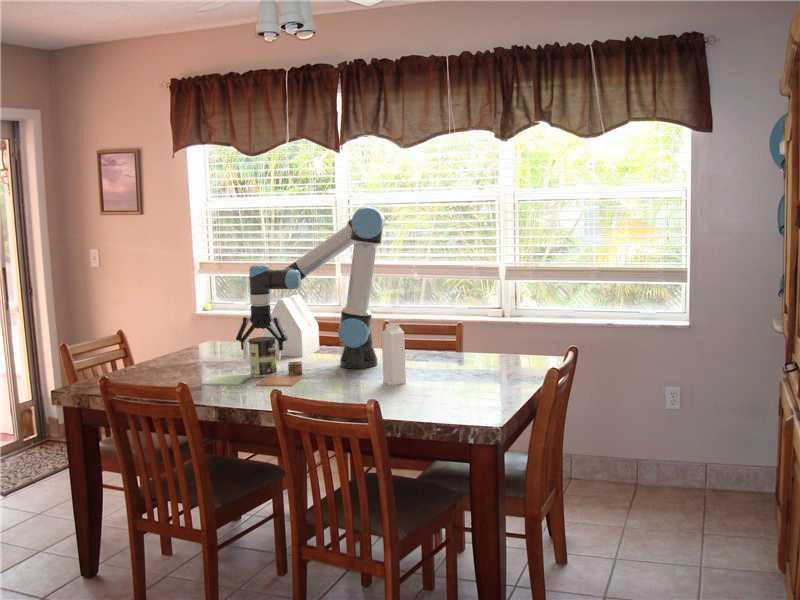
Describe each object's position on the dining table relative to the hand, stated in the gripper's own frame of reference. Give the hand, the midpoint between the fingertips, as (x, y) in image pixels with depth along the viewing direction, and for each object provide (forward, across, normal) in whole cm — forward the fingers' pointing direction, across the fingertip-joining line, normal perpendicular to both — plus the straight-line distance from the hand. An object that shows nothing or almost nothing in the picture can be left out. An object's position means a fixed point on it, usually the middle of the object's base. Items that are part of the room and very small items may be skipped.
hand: (262, 358), depth 306 cm
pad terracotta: (+6, -10, +11) cm, 16 cm away
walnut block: (+6, -14, +1) cm, 15 cm away
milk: (+6, -54, +12) cm, 56 cm away
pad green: (+7, +10, +11) cm, 17 cm away
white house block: (+7, +2, -43) cm, 44 cm away
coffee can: (+7, 0, 0) cm, 7 cm away
